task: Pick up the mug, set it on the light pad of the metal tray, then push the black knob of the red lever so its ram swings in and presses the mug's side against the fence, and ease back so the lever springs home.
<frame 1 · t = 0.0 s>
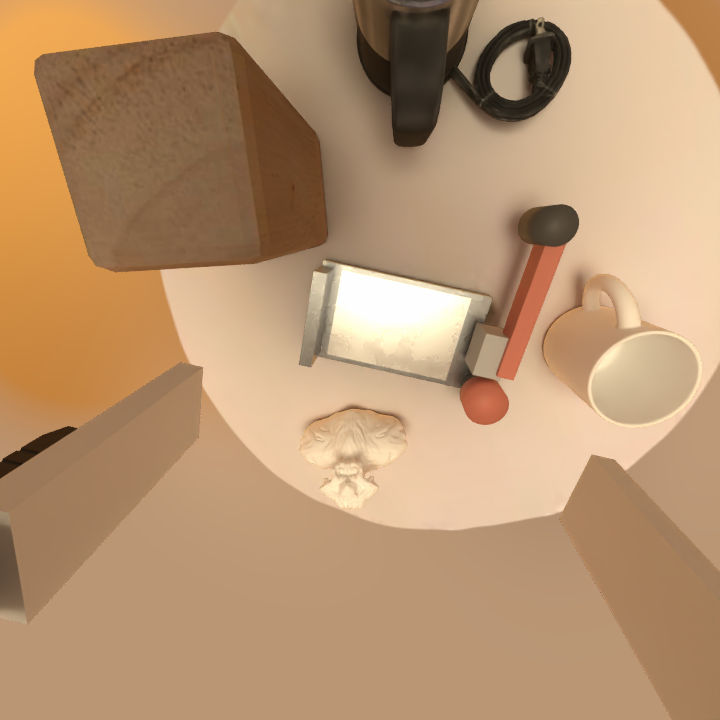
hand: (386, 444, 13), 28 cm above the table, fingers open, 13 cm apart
lever: (509, 321, 33), point 5 cm above the table, hinge at 0.0°
milk frother: (456, 53, 32), on the table
mug: (580, 325, 38), on the table
metal tray: (391, 322, 40), on the table
wooden block: (275, 194, 37), on the table
bust: (356, 430, 45), on the table
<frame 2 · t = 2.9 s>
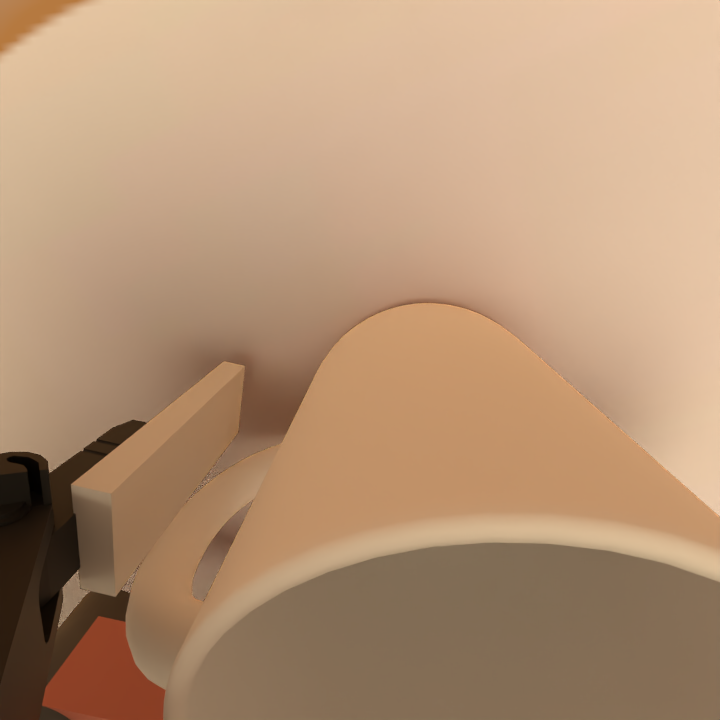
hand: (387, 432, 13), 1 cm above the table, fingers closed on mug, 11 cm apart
lever: (321, 718, 13), point 5 cm above the table, hinge at 0.0°
mug: (374, 411, 15), on the table, touching gripper
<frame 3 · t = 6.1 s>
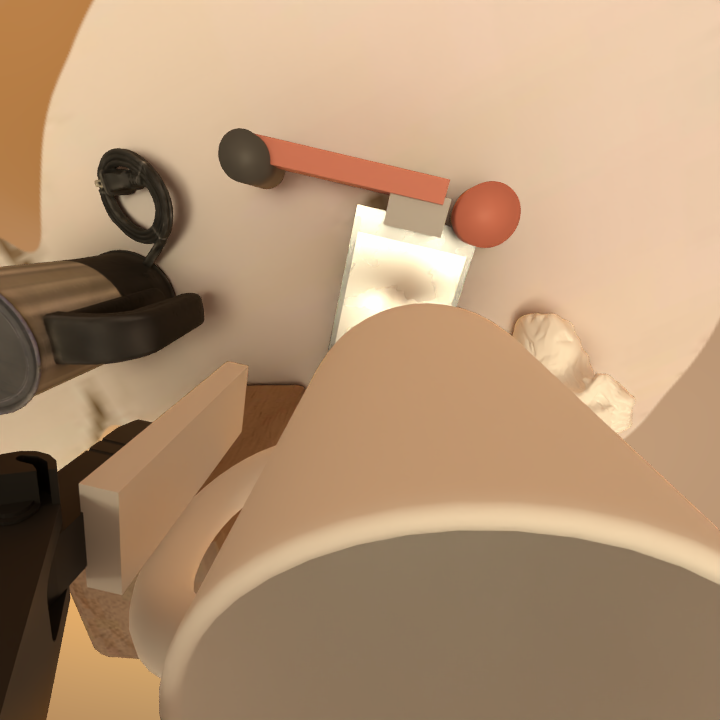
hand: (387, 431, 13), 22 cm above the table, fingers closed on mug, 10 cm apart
lever: (373, 190, 26), point 5 cm above the table, hinge at 0.0°
milk frother: (138, 258, 34), on the table
mug: (373, 411, 15), point 20 cm above the table, touching gripper
metal tray: (391, 321, 34), on the table
wooden block: (266, 424, 39), on the table
bust: (535, 365, 35), on the table
when the fingers open (3 cm above the table, at t = 8.9 s): mug stays where it is, resting on metal tray.
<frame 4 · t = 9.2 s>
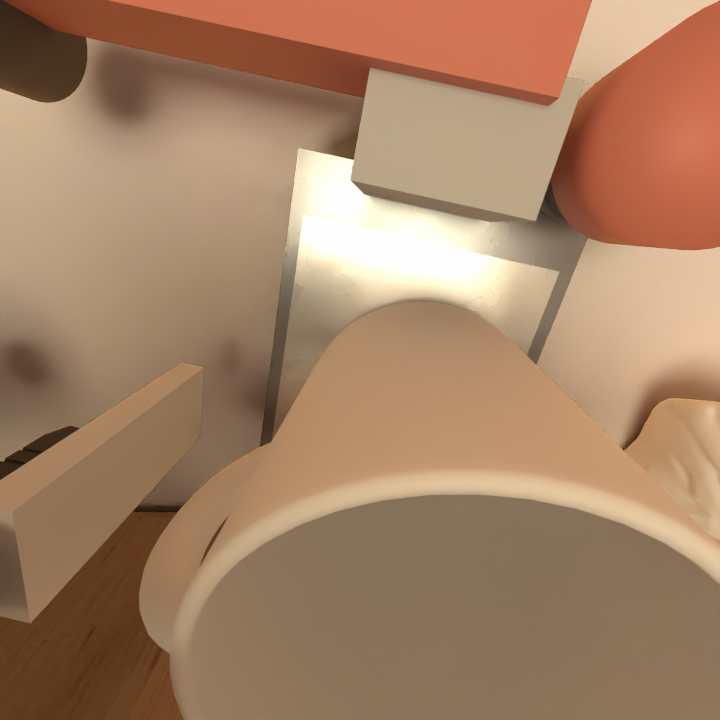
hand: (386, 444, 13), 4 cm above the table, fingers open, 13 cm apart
lever: (318, 77, 8), point 5 cm above the table, hinge at 0.0°
mug: (371, 407, 15), point 1 cm above the table, touching metal tray
metal tray: (386, 400, 17), on the table
wooden block: (167, 569, 22), on the table
bust: (676, 483, 17), on the table
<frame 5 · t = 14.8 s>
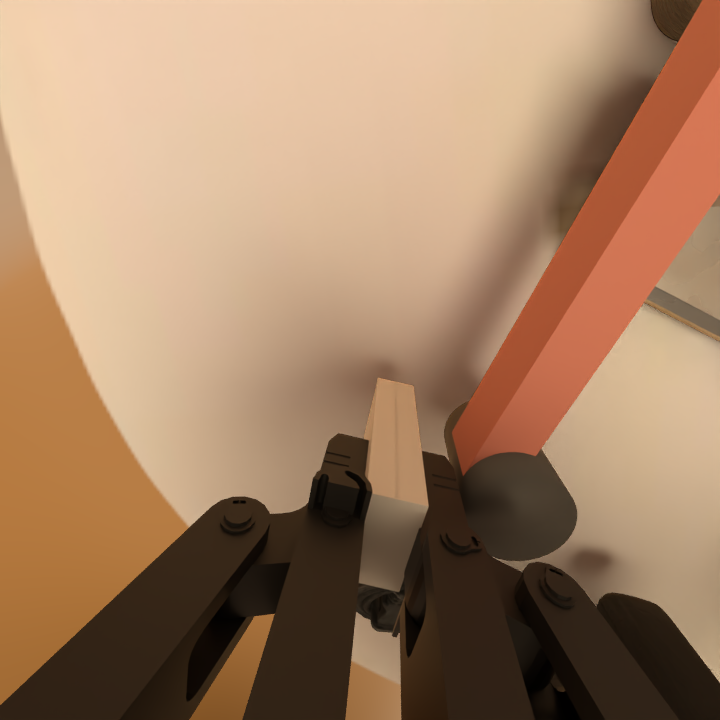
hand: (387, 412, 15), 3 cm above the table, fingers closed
lever: (649, 222, 10), point 5 cm above the table, hinge at 3.5°, touching gripper
milk frother: (483, 612, 23), on the table
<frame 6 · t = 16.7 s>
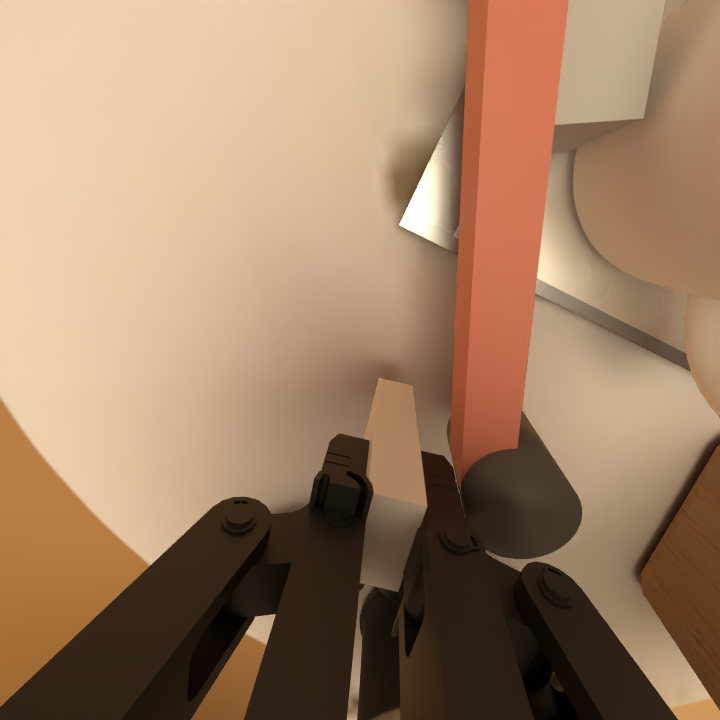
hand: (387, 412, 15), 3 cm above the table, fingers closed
lever: (523, 191, 10), point 5 cm above the table, hinge at 27.5°, touching gripper
milk frother: (379, 590, 23), on the table
mug: (679, 217, 13), point 1 cm above the table, touching metal tray
metal tray: (671, 204, 14), on the table
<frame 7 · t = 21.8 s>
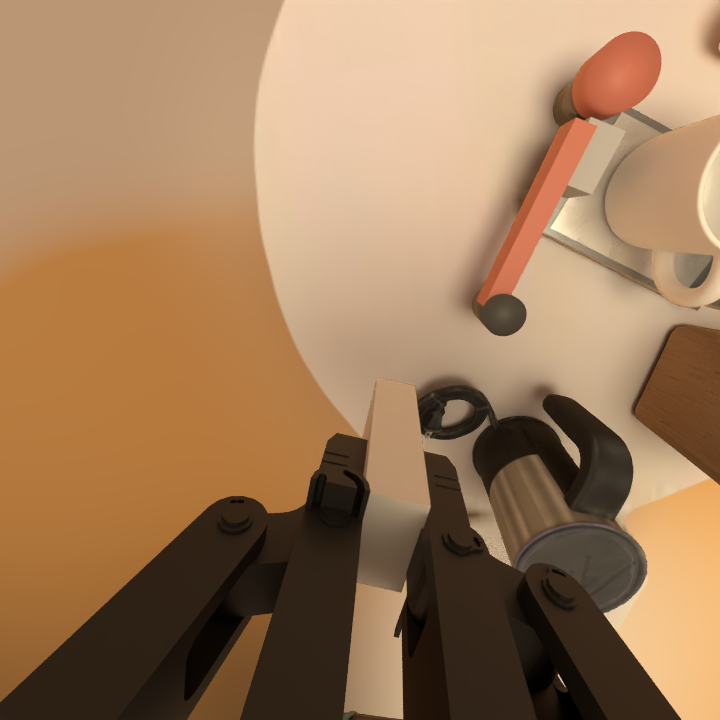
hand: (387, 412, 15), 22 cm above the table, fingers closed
lever: (548, 203, 27), point 5 cm above the table, hinge at 4.8°
milk frother: (484, 433, 40), on the table
mug: (649, 219, 30), point 1 cm above the table, touching metal tray
metal tray: (647, 213, 31), on the table
wooden block: (698, 379, 36), on the table
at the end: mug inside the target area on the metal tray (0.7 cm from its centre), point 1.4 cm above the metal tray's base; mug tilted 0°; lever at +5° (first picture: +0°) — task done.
